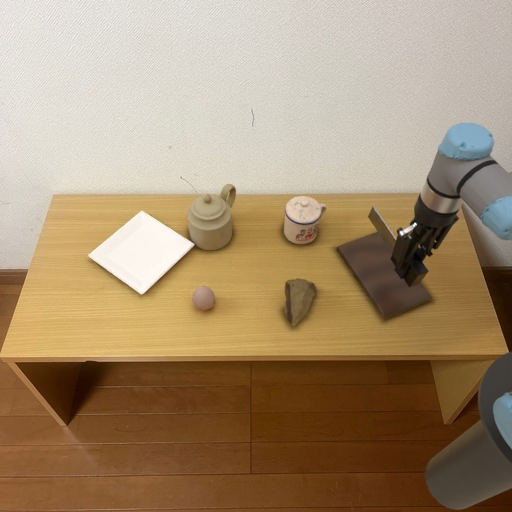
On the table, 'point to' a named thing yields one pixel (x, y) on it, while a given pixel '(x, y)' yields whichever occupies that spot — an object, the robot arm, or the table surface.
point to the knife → (416, 267)
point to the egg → (203, 298)
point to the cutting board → (381, 276)
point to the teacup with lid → (302, 219)
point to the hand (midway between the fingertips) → (405, 271)
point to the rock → (298, 298)
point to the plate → (141, 251)
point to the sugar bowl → (211, 219)
